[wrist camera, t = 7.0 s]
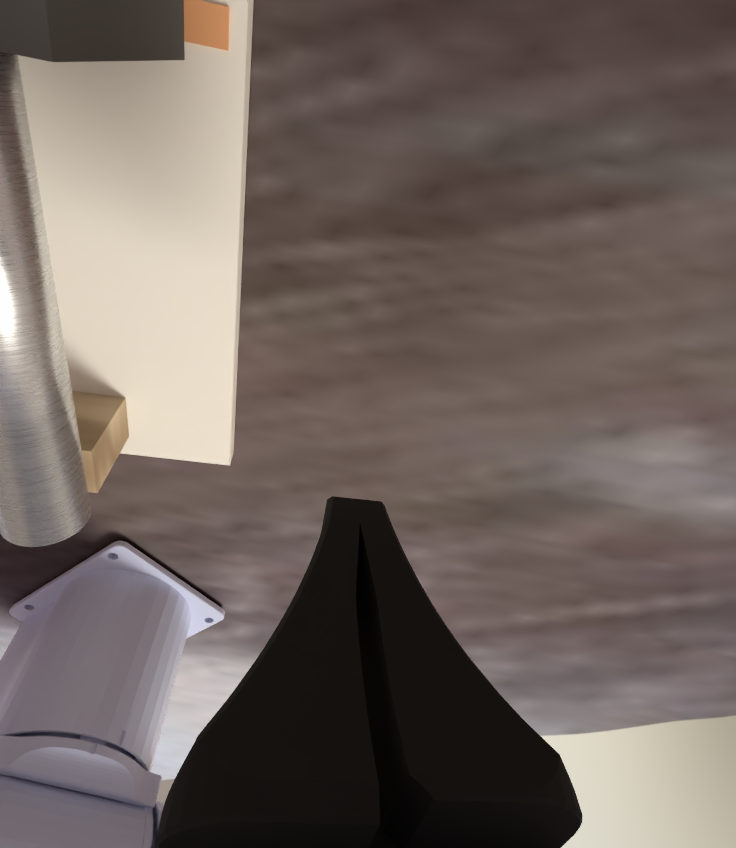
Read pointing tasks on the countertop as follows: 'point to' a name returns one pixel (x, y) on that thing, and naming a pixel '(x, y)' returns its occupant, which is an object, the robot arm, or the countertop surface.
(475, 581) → the countertop surface
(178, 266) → the base board
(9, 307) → the pipe
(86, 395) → the tan wooden bar
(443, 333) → the countertop surface
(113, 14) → the collar
